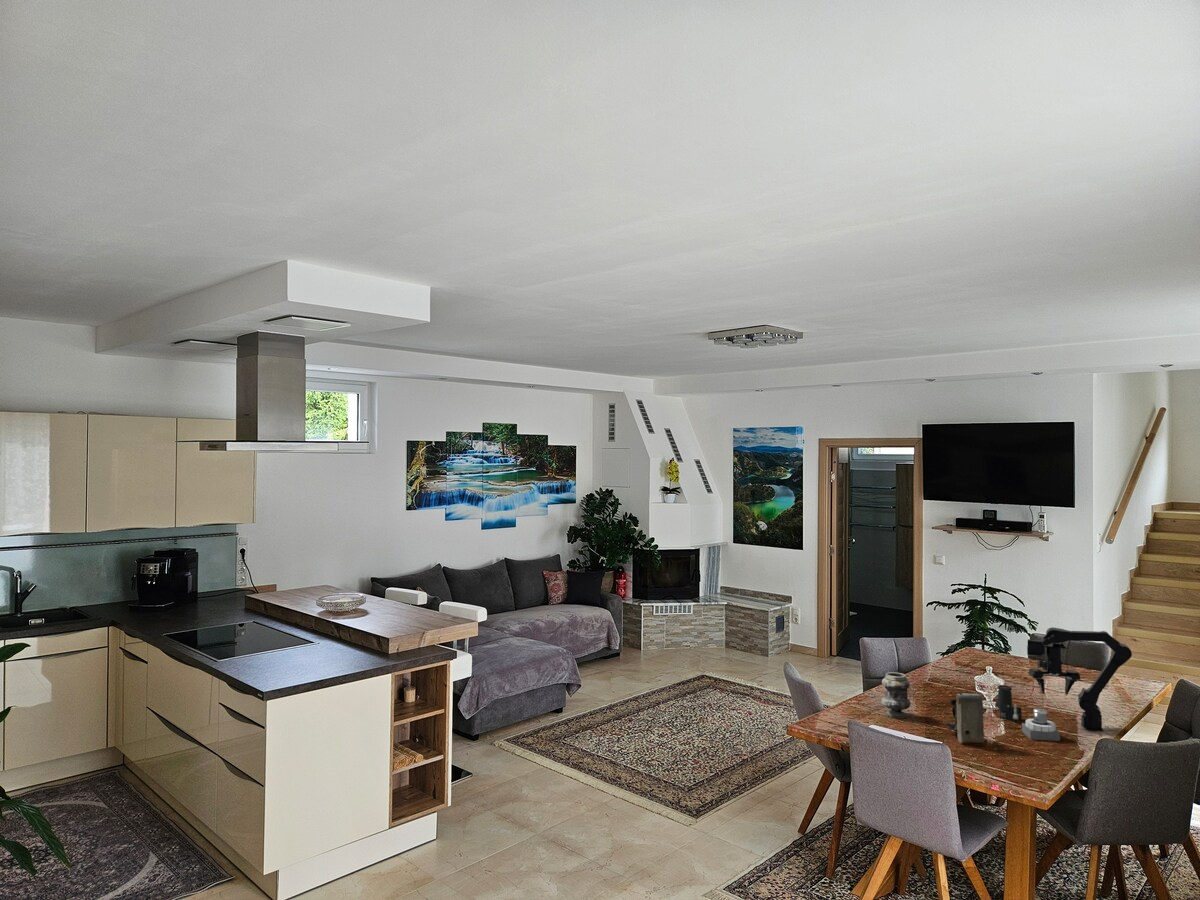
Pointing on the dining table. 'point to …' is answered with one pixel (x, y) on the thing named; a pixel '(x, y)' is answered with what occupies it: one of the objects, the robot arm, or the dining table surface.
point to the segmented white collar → (1040, 731)
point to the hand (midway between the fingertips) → (1054, 694)
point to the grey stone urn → (896, 694)
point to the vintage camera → (968, 718)
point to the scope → (1007, 704)
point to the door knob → (1040, 716)
